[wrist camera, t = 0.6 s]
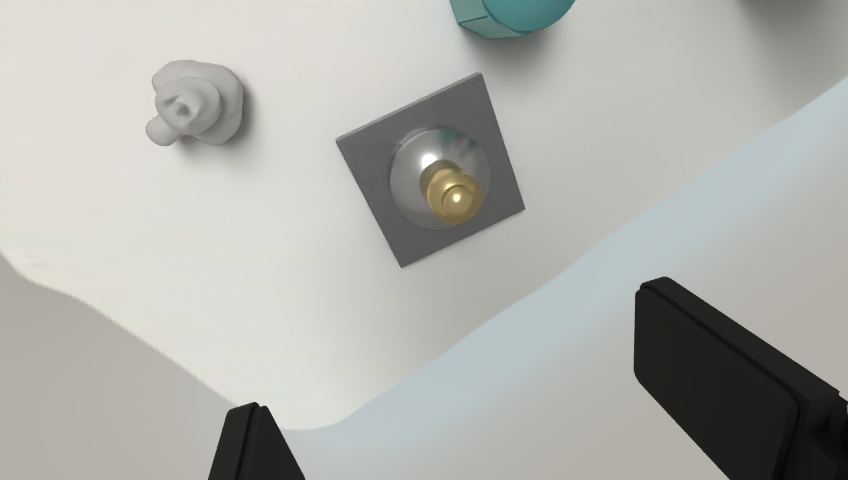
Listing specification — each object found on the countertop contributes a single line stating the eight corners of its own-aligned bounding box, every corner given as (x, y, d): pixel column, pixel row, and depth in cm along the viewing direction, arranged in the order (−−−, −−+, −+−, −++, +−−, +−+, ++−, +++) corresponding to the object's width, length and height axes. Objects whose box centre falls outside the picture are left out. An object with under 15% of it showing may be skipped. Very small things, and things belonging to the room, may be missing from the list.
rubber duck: (269, 106, 30) (250, 123, 23) (199, 161, 31) (160, 194, 24) (210, 38, 28) (169, 32, 21) (136, 98, 28) (71, 114, 21)
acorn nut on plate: (476, 72, 32) (516, 77, 25) (519, 204, 38) (562, 239, 31) (335, 138, 32) (337, 162, 25) (399, 261, 37) (414, 309, 30)
